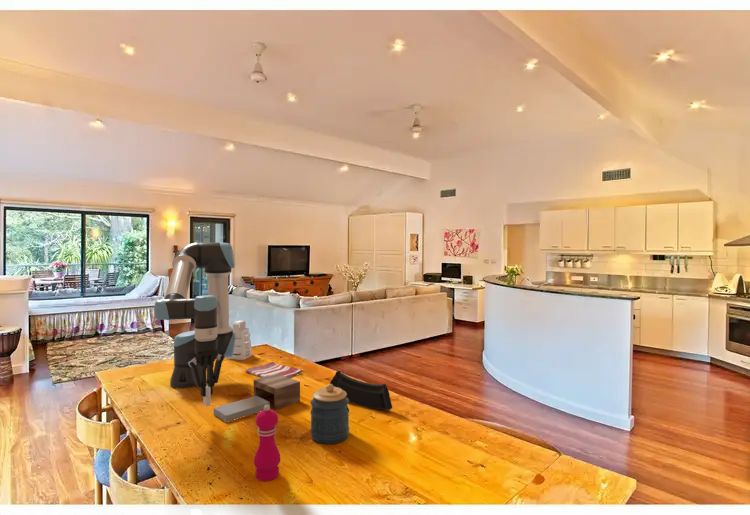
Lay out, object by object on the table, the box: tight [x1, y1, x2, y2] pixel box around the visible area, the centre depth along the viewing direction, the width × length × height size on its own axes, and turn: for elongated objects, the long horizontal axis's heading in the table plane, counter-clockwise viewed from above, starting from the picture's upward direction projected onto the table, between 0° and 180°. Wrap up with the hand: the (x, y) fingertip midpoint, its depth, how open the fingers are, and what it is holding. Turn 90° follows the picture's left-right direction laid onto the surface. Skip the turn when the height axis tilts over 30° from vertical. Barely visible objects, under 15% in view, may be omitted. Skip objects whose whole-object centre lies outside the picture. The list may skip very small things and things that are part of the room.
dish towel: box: [245, 361, 303, 378], centre depth 211 cm, size 17×23×3 cm
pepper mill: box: [253, 405, 281, 482], centre depth 119 cm, size 7×7×20 cm
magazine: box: [329, 370, 393, 411], centre depth 171 cm, size 17×3×30 cm
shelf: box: [253, 374, 301, 410], centre depth 175 cm, size 16×12×8 cm
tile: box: [213, 395, 271, 423], centre depth 163 cm, size 10×18×3 cm, turn 135°
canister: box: [310, 383, 350, 445], centre depth 143 cm, size 13×13×18 cm
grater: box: [225, 320, 254, 361], centre depth 239 cm, size 10×10×20 cm
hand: (206, 404), depth 152 cm, fingers closed
